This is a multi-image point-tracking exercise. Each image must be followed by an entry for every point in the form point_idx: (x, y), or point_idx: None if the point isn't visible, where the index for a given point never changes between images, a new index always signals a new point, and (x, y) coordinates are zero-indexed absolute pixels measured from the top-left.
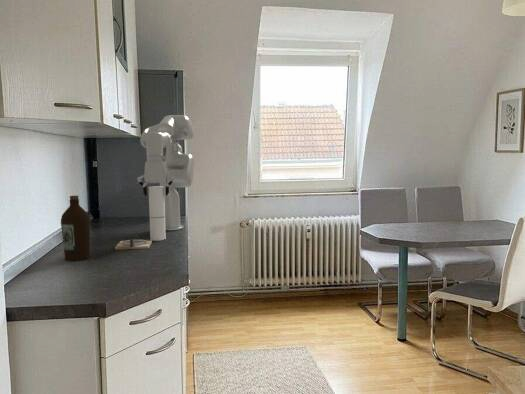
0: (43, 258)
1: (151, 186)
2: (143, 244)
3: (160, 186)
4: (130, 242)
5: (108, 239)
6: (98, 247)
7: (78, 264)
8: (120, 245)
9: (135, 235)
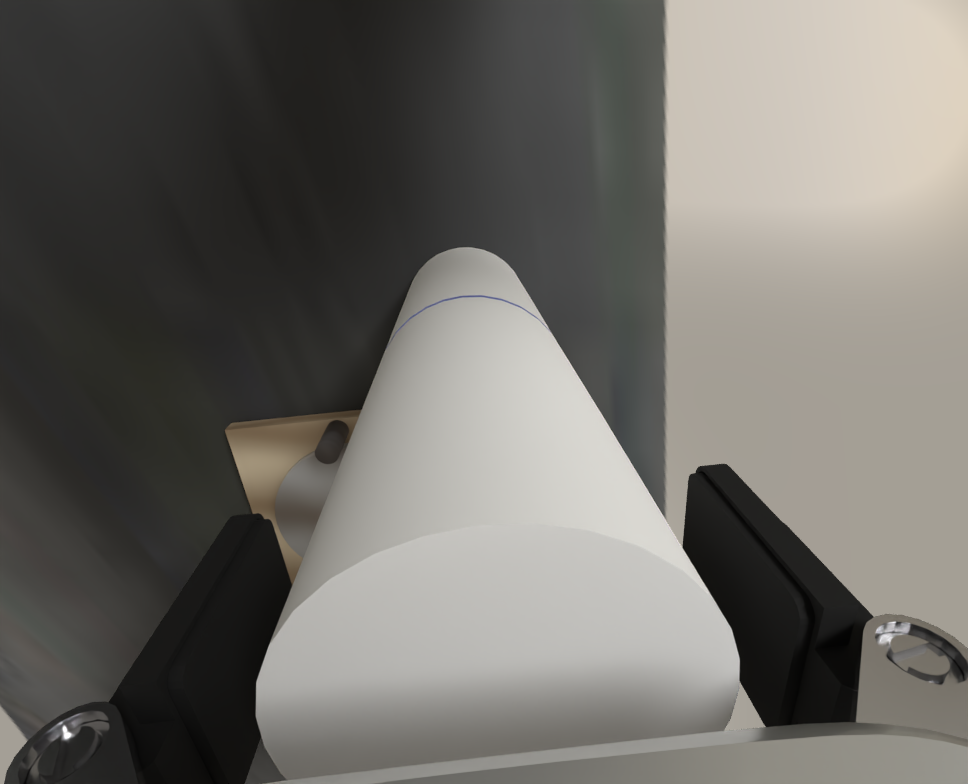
0: (17, 718)
1: (296, 615)
2: None
3: (625, 633)
4: None
5: (51, 294)
6: (148, 535)
7: (253, 780)
8: (290, 554)
9: (327, 460)
